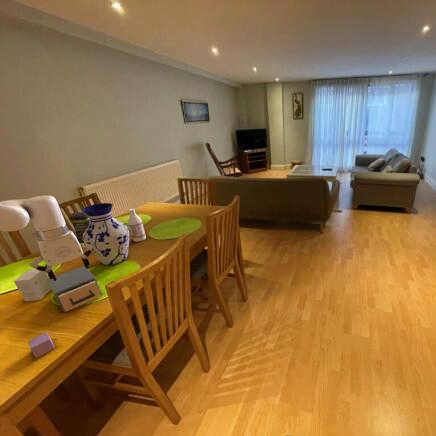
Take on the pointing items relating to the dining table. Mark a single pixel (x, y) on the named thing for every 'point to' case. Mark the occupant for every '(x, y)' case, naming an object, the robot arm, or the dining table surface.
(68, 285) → the drawer box
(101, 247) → the vase
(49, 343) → the lavender rounded block
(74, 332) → the dining table surface
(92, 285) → the sliding drawer
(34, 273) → the small box
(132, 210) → the bath foam
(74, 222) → the coffee jar
